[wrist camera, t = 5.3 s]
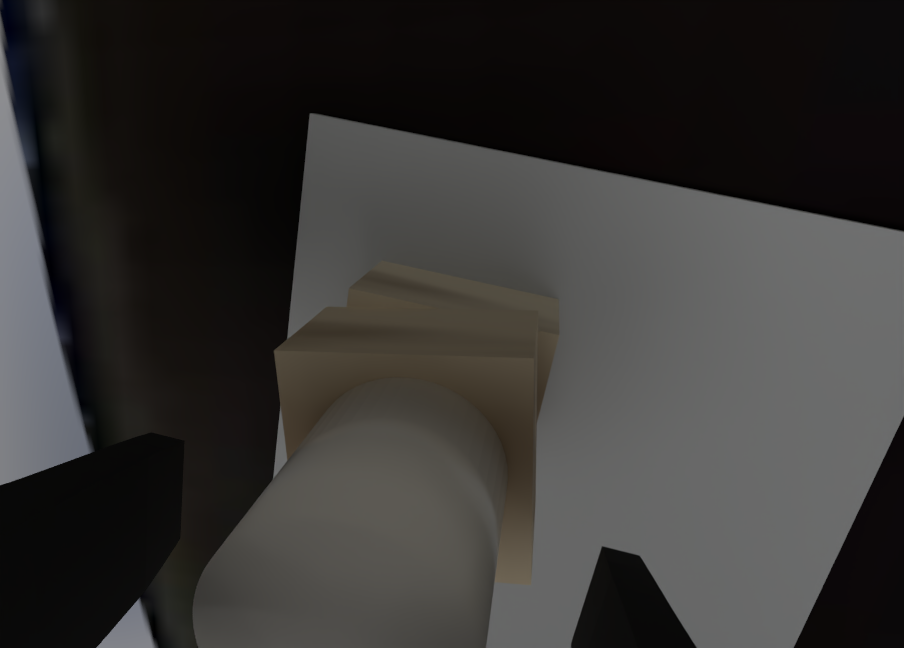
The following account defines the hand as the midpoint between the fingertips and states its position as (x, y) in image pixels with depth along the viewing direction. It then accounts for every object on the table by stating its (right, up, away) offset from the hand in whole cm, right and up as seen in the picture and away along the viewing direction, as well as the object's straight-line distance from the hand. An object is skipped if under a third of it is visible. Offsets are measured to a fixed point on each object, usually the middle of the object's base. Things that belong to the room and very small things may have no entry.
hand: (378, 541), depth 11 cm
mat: (+4, -2, +9) cm, 10 cm away
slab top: (+1, +2, +5) cm, 5 cm away
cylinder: (0, +1, +2) cm, 2 cm away
